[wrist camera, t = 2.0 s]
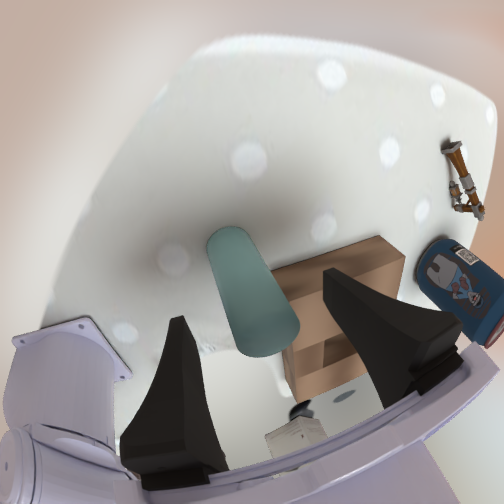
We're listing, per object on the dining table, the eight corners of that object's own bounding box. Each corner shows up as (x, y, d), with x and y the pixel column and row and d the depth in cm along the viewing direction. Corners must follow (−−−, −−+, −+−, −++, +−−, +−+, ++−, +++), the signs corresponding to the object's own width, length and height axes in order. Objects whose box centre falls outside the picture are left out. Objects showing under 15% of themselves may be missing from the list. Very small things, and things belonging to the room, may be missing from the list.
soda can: (441, 276, 30) (503, 335, 20) (405, 293, 28) (472, 365, 18) (456, 228, 26) (530, 286, 16) (420, 241, 24) (505, 313, 15)
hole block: (285, 379, 29) (297, 403, 27) (270, 271, 21) (288, 301, 18) (361, 347, 31) (375, 367, 28) (379, 235, 22) (405, 256, 19)
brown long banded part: (454, 221, 24) (482, 226, 19) (424, 153, 22) (453, 148, 18) (463, 212, 24) (491, 216, 19) (434, 145, 22) (462, 140, 18)
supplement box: (298, 414, 37) (330, 482, 27) (319, 418, 41) (349, 476, 31) (262, 435, 38) (287, 500, 28) (286, 438, 42) (311, 494, 32)
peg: (212, 271, 19) (242, 364, 13) (201, 234, 17) (229, 324, 11) (254, 258, 20) (301, 344, 13) (246, 220, 18) (298, 301, 11)
